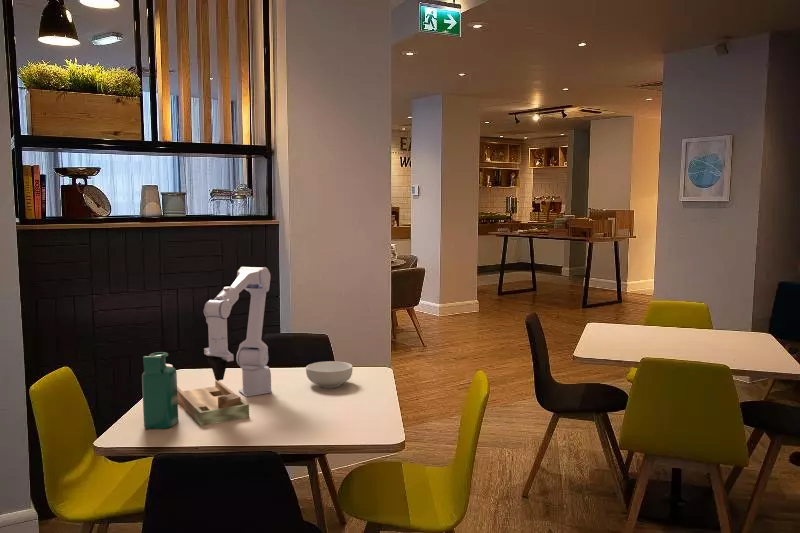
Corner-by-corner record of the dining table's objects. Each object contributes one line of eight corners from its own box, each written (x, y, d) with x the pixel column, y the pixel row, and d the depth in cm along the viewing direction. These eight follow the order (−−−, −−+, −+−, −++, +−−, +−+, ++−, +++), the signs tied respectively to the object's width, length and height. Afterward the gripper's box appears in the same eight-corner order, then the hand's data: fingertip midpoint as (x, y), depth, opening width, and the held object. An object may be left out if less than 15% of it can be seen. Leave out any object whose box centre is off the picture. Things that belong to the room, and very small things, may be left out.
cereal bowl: (361, 382, 245) (361, 364, 244) (333, 394, 231) (333, 374, 230) (325, 376, 254) (325, 358, 253) (296, 386, 240) (296, 367, 239)
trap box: (218, 391, 234) (218, 380, 234) (249, 417, 206) (248, 404, 206) (174, 398, 226) (174, 386, 226) (200, 425, 198) (200, 412, 198)
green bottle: (153, 419, 204) (150, 349, 202) (180, 420, 204) (177, 349, 202) (139, 430, 194) (136, 357, 192) (168, 430, 194) (165, 357, 192)
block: (218, 409, 207) (217, 397, 207) (232, 406, 211) (232, 393, 211) (226, 413, 204) (226, 400, 203) (240, 409, 207) (240, 397, 207)
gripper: (194, 336, 212) (196, 378, 213) (218, 343, 202) (220, 386, 203) (214, 333, 217) (216, 373, 218) (238, 339, 207) (240, 382, 208)
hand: (219, 379), depth 211 cm, fingers closed
